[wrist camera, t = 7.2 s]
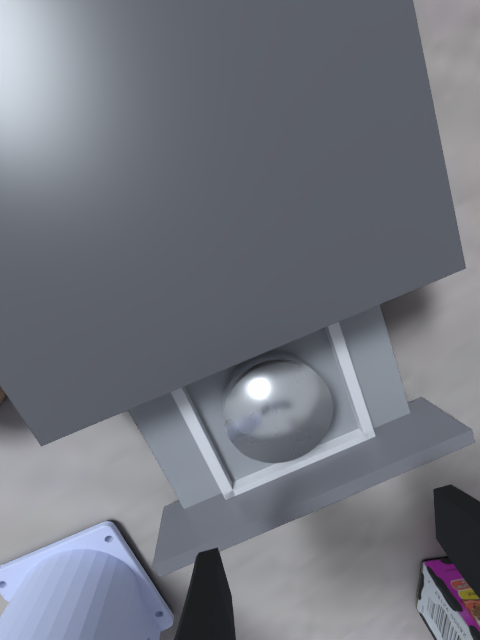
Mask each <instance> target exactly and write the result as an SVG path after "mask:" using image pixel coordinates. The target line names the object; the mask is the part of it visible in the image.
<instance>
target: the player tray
mask: <svg viewBox="0 0 480 640" xmlns="http://www.w3.org/2000/svg"><path fill="white" fill-rule="evenodd" d="M272 350H278V351H285V352H289V353H292V354H295V355H297V356H299V357H300V358H302V359H303V360H304V361H306V362H307V363H308V364H309V365H310V366H311V367H312V369H313V370H314V371H315V372H316V373H317V374H318V375H319V376H320V377H321V378H322V380H323V381H324V382H325V383H326V385H327V387H328V388H329V391H330V393H331V397H332V400H333V416H332V421H331V424H330V427H329V429H328V431H327V433H326V435H325V436H324V438H323V439H322V440H321V442H320V443H319V444H318V445H317V446H316V447H315V448H314V449H312V450H311V451H310V452H308V453H307V454H305V455H304V456H302V457H300V458H297V459H295V460H292V461H288V462H284V463H264V462H260V461H256V460H254V459H251V458H249V457H247V456H246V455H244V454H243V453H241V452H240V451H239V450H238V449H237V448H236V447H235V446H234V445H233V443H232V442H231V440H230V439H229V437H228V434H227V432H226V429H225V424H224V411H223V391H224V387H225V384H226V381H227V379H228V377H229V375H230V374H231V373H232V371H233V370H234V369H235V368H236V367H237V365H239V364H240V363H239V364H237V365H234V366H232V367H229V368H227V369H225V370H222V371H220V372H217V373H215V374H213V375H210V376H208V377H205V378H203V379H201V380H198V381H196V382H194V383H191V384H189V385H186V386H184V387H182V388H179V389H177V390H174V391H172V392H170V393H167V394H165V395H163V396H160V397H158V398H155V399H153V400H151V401H148V402H146V403H143V404H141V405H139V406H136V407H134V408H132V409H129V412H130V414H131V416H132V418H133V419H134V421H135V423H136V425H137V426H138V428H139V430H140V432H141V434H142V435H143V437H144V439H145V441H146V443H147V444H148V446H149V448H150V450H151V451H152V453H153V455H154V457H155V459H156V460H157V462H158V464H159V466H160V467H161V469H162V471H163V473H164V475H165V476H166V478H167V480H168V482H169V483H170V485H171V487H172V489H173V491H174V492H175V494H176V496H177V498H178V499H179V501H176V502H174V503H172V504H169V505H167V506H165V507H164V509H163V514H162V519H161V524H160V530H159V535H158V540H157V545H156V550H155V555H154V561H153V568H154V569H155V571H156V573H157V574H158V576H159V577H162V576H164V575H166V574H169V573H171V572H173V571H176V570H178V569H180V568H183V567H185V566H187V565H190V564H192V563H194V562H195V559H196V556H197V554H198V553H199V552H202V551H206V550H210V549H214V548H217V547H218V550H219V552H220V551H222V550H225V549H227V548H229V547H232V546H234V545H236V544H239V543H241V542H243V541H246V540H248V539H250V538H253V537H255V536H257V535H260V534H262V533H264V532H267V531H269V530H271V529H274V528H276V527H278V526H281V525H283V524H285V523H288V522H290V521H292V520H295V519H297V518H299V517H302V516H304V515H306V514H309V513H311V512H314V511H316V510H318V509H321V508H323V507H325V506H328V505H330V504H332V503H335V502H337V501H339V500H342V499H344V498H346V497H349V496H351V495H353V494H356V493H358V492H360V491H363V490H365V489H367V488H370V487H372V486H374V485H377V484H379V483H381V482H384V481H386V480H388V479H391V478H393V477H395V476H398V475H400V474H402V473H405V472H407V471H409V470H412V469H414V468H416V467H419V466H421V465H423V464H426V463H428V462H430V461H433V460H435V459H437V458H440V457H442V456H444V455H447V454H449V453H451V452H454V451H456V450H458V449H461V448H463V447H465V446H468V445H470V444H472V443H475V440H474V436H473V431H472V429H471V428H469V427H467V426H466V425H464V424H463V423H461V422H460V421H458V420H457V419H455V418H454V417H452V416H450V415H449V414H447V413H446V412H444V411H443V410H441V409H440V408H438V407H437V406H435V405H434V404H432V403H430V402H429V401H427V400H426V399H424V398H423V397H421V398H419V399H417V400H414V401H412V402H409V403H407V399H406V396H405V392H404V389H403V385H402V381H401V378H400V374H399V371H398V367H397V364H396V360H395V357H394V353H393V349H392V346H391V342H390V339H389V335H388V332H387V328H386V325H385V321H384V318H383V314H382V310H381V307H380V305H377V306H375V307H373V308H370V309H368V310H365V311H363V312H361V313H358V314H356V315H353V316H351V317H349V318H346V319H344V320H341V321H339V322H337V323H334V324H332V325H330V326H327V327H325V328H322V329H320V330H318V331H315V332H313V333H310V334H308V335H306V336H303V337H301V338H299V339H296V340H294V341H291V342H289V343H287V344H284V345H282V346H279V347H277V348H275V349H272ZM270 351H271V350H270Z"/></svg>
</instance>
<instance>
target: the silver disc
mask: <svg viewBox="0 0 480 640" xmlns="http://www.w3.org/2000/svg"><path fill="white" fill-rule="evenodd" d="M223 411H224V424H225V429H226V432H227V434H228V437H229V439H230V440H231V442H232V443H233V445H234V446H235V447H236V448H237V449H238V450H239V451H240V452H241V453H243V454H244V455H246V456H247V457H249V458H251V459H254V460H256V461H260V462H264V463H284V462H288V461H292V460H295V459H297V458H300V457H302V456H304V455H305V454H307V453H308V452H310V451H311V450H312V449H314V448H315V447H316V446H317V445H318V444H319V443H320V442H321V440H322V439H323V438H324V436H325V435H326V433H327V431H328V429H329V427H330V424H331V421H332V416H333V400H332V397H331V393H330V391H329V388H328V387H327V385H326V383H325V382H324V381H323V380H322V378H321V377H320V376H319V375H318V374H317V373H316V372H315V371H314V370H313V369H312V367H311V366H310V365H309V364H308V363H307V362H306V361H304V360H303V359H302V358H300V357H299V356H297V355H295V354H292V353H289V352H285V351H278V350H271V351H268V352H265V353H263V354H260V355H258V356H256V357H253V358H251V359H248V360H246V361H244V362H241V363H240V364H239V365H237V367H236V368H235V369H234V370H233V371H232V373H231V374H230V375H229V377H228V379H227V381H226V384H225V387H224V391H223Z"/></svg>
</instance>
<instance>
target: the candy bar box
mask: <svg viewBox="0 0 480 640" xmlns="http://www.w3.org/2000/svg"><path fill="white" fill-rule="evenodd" d="M416 609H417V611H418V612H419V614H420V616H421V618H422V619H423V621H424V623H425V624H426V626H427V628H428V629H429V631H430V633H431V634H432V636H433V638H434V639H435V640H480V598H479V597H478V596H477V595H476V593H475V592H474V591H473V590H472V588H471V587H470V586H469V585H468V583H467V582H466V581H465V580H464V578H463V577H462V576H461V574H460V573H459V571H458V570H457V568H456V567H455V566H454V564H453V563H452V561H451V560H450V558H449V557H448V558H442V559H435V560H428V561H424V562H423V563H422V567H421V573H420V581H419V586H418V592H417V596H416Z"/></svg>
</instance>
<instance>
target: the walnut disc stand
mask: <svg viewBox="0 0 480 640" xmlns="http://www.w3.org/2000/svg"><path fill="white" fill-rule="evenodd" d="M6 396H7V395H6V393H5V392H4V390H3V389H2V387H1V386H0V404H1V403H2V402H3V401H4V400H5V398H6Z"/></svg>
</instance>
